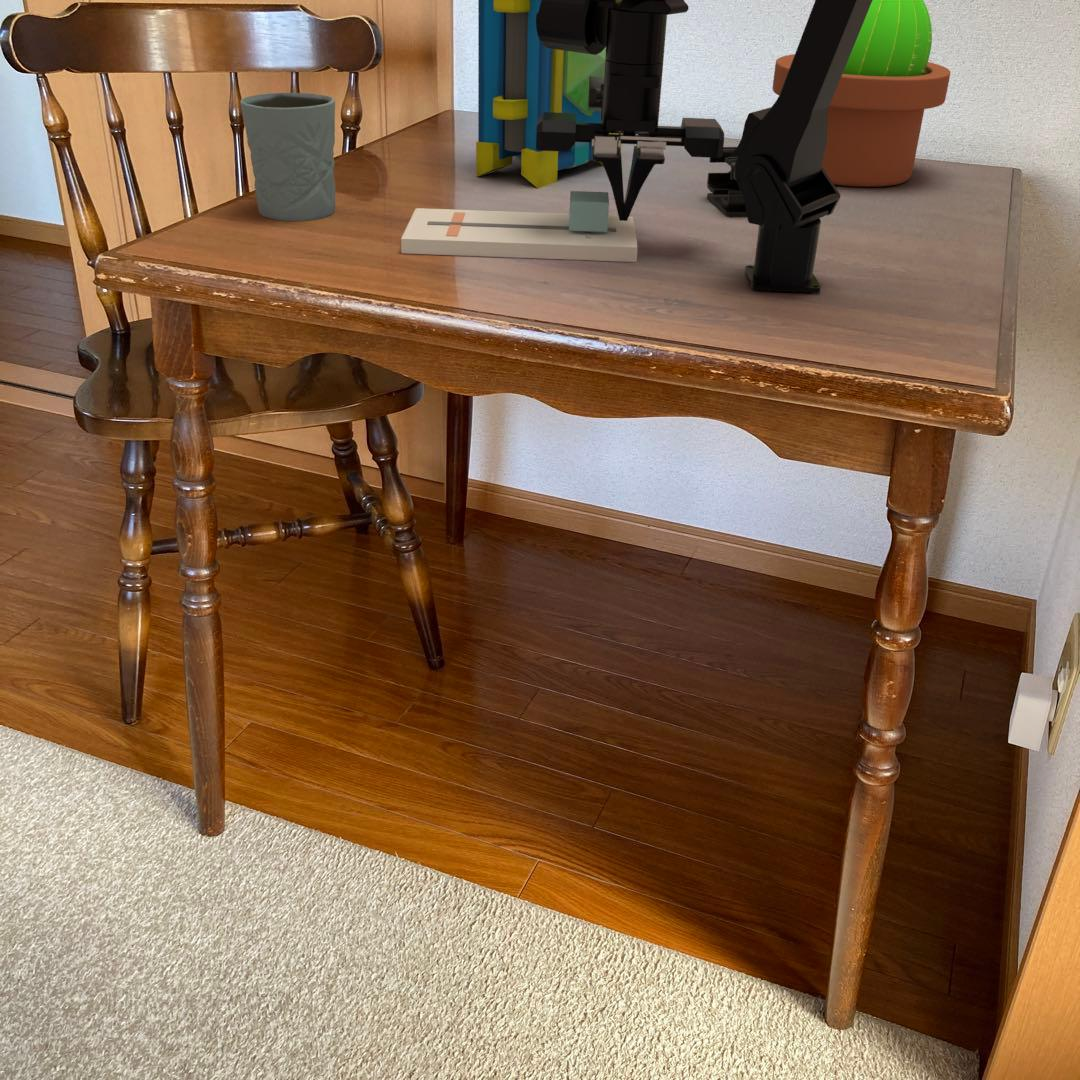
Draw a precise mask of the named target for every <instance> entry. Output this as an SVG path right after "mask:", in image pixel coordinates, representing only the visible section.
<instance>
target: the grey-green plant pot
mask: <svg viewBox="0 0 1080 1080" xmlns="http://www.w3.org/2000/svg"><path fill="white" fill-rule="evenodd" d="M240 109H241V113H242V118H243V119H242V120H243V124H244V128H245V129H244V130H245V134H246V138H247V140H246V141H247V142H246V143H247V147H248V149H249V151H250V161H251V166H252V173H253V177H254V190H255V197H256V201H257V208H258V209H257V210H258V214H260V215H261V216H262V217H265V218H267V219H272V220H276V221H285V222H306V221H313V220H314V221H315V220H320V219H323V218H327V217H330V216H331V215H332V214H334V213H335V210H336V182H335V181H336V180H335V175H334V172H335V171H334V170H335V158H334V157H335V156H334V155H335V153H334V147H335V140H336V138H335V137H336V136H335V133H336V100H335V98H334V97H332V96H328V95H325V94H317V93H306V92H275V93H274V92H272V93H271V92H269V93H262V94H254V95H250V96H245V97H243V98H241V99H240Z"/></svg>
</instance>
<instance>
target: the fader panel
mask: <svg viewBox="0 0 1080 1080" xmlns="http://www.w3.org/2000/svg"><path fill="white" fill-rule="evenodd" d="M569 215H570V213H563V212H562V213H558V212H534V211H533V212H532V211H530V212H529V211H527V212H526V211H505V210H504V211H503V210H481V209H480V210H479V209H478V210H476V209H474V210H473V209H448V208H446V209H444V208H423V207H422V208H420V207H419V208H418V207H416V208H415V210H414V212H413V213H412V215H411V217H410V220H409V222H408V223H407V226H406V227H405V230H404V231H403V233H402V236H401V237H400V240H401V241H400V243H401V245H400V247H401V254H407V255H409V254H410V255H434V256H435V255H437V256H438V255H439V256H440V255H441V256H462V257H463V256H465V257H466V256H467V257H487V258H488V257H490V258H491V257H492V258H493V257H495V258H514V259H515V258H516V259H518V258H519V259H521V258H523V259H544V260H545V259H546V260H550V259H551V260H572V261H573V260H575V261H598V262H599V261H603V262H604V261H605V262H624V263H625V262H627V263H628V262H629V263H637V261H638V247H639V246H638V241H637V236H636V229H635V222H634V216H633V215H629V217H628V220H627V221H624V220H623V221H620V220H619V216H618V214H617V215H613V214H612V215H611V214H608V230H607V232H593V231H569Z"/></svg>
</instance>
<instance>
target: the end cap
mask: <svg viewBox="0 0 1080 1080" xmlns="http://www.w3.org/2000/svg"><path fill="white" fill-rule="evenodd" d="M737 147H738V146H723V155H722V157H719V158H709V160H708V161H709V163H710V164H711V163H723V164H724V163H726V164H727V165H728V166H730V170H729V171H728V172H708V173H707V179H706V180H707V182H706V186H707V187H706V188H707V189H708V190H709V192H708V193H707V195H706V199H707V200H708V201H709V202H710V203H711V204H712V205H713V206H714V207H716V208H717V209H718V210H719V211H720V212H721V213H722V214H723V215H724V216H725V217H727V218H747V213H746V208H745V203H744V197H743V194H742V192H741V191H740V189H739V187H738V184H737V181H736V180H735V178H734V168H735V163H736V160H737V158H738V156H735V157H733V156H732V153H733V151H734V150H735V149H736V148H737Z"/></svg>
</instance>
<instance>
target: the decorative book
mask: <svg viewBox="0 0 1080 1080" xmlns="http://www.w3.org/2000/svg"><path fill="white" fill-rule="evenodd" d="M541 2H542V0H478V6H477V7H478V9H477V10H478V20H477V21H478V24H477V25H478V29H477V30H478V31H477V32H478V40H477V41H478V48H477V49H478V50H477V51H478V66H477V67H478V79H477V80H478V81H477V82H478V88H477V90H478V92H477V94H478V99H477V100H478V101H477V102H478V104H477V105H478V106H477V107H478V112H477V114H478V127H477V128H478V130H477V132H478V135H477V137H478V139H477V140H478V141H476V142H475V144H476V147H475V153H476V155H475V158H476V164H475V167H476V168H475V171H476V173H475V176H476V177H478V178H479V177H481V176H483V175H487V174H491V173H494V172H497V171H499V170H501V169H504V168H507V167H508V166H511V165H513V157H515V158H516V160H518V161H521V166H520V168H521V169H520V171H521V172H520V175H521V176H522V177H523V178H525V179H526V180H527V181H528V182H530V184H532V185H533V186H535V187H536V188H537V189H540V187H541V188H543V187H547V186H549V185H553V184H556V183H558V171H561V170H564V169H566V170H570V169H573V168H576V167H579V166H582V165H584V164H587V163H588V162H589V161H593V160H592V142H575V144H574V145H573V146H572V147H571V148H570V149H569V150H568V151H567V152H561V151H541V150H537V149H536V132H537V122H538V118H539V117H540V116H541V115H542V114H543V113H544V112H556V113H576V122H577V123H602V121H601V111H589V110H588V95H589V77H590V76H595V77H604V74H605V56H606V47H605V49H604V50H603V51H602V52H601V53H599V54H597V55H592V54H585V53H578V52H571V51H564V50H557V49H550V48H546V47H545V46H544V45H543V44H542V43H541V41H540V39H539V37H538V34H537V29H536V14H537V13H538V12H539V7H540V4H541ZM609 134H611V133H609ZM613 134H615V133H613ZM617 134H618V133H617ZM621 135H622V134H621ZM620 150H621V151H622V144H620ZM598 164H600V165H601V166H603V163H602V162H598ZM555 182H556V183H555ZM552 183H553V184H552ZM546 185H547V186H546Z"/></svg>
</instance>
